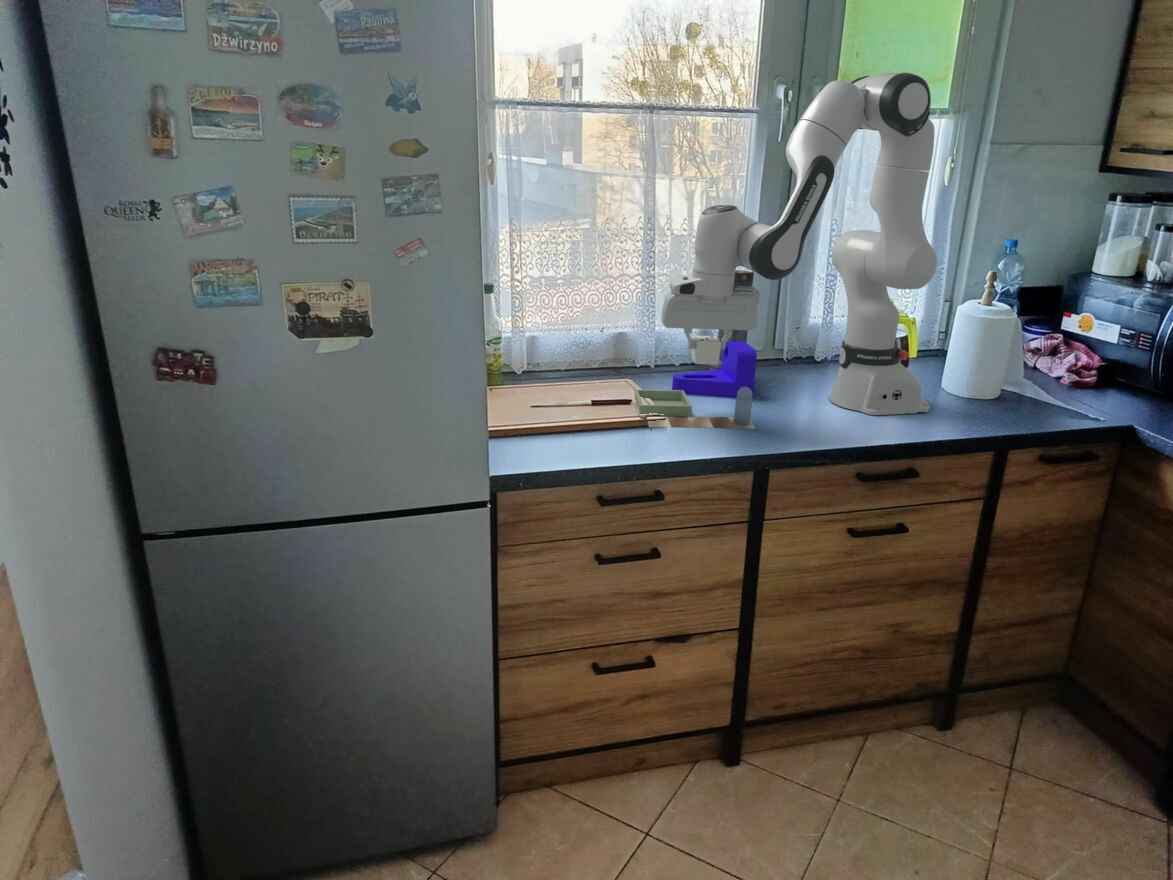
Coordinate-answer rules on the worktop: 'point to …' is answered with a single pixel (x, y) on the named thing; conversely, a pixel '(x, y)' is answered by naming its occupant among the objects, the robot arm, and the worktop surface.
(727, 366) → the bracket
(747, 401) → the pawn
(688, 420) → the track
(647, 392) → the dice tray
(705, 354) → the die
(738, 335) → the building
